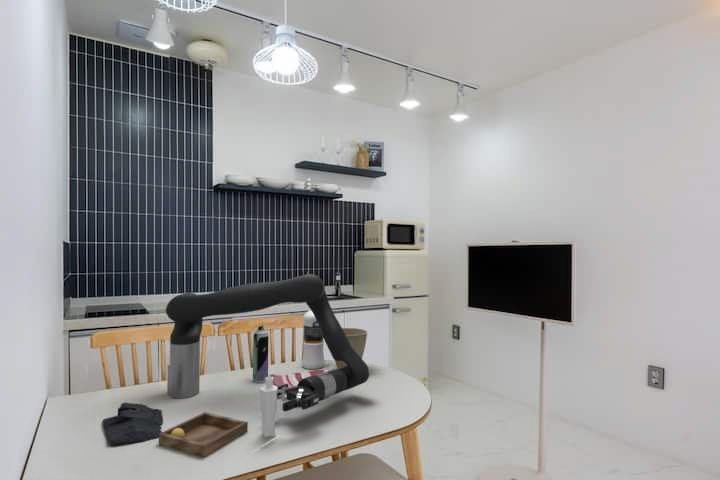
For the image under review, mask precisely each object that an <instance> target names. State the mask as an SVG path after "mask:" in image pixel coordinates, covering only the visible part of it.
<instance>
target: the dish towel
mask: <svg viewBox="0 0 720 480" xmlns="http://www.w3.org/2000/svg"><path fill="white" fill-rule="evenodd" d="M328 371H330V370H329V369H314V370H311V371H310V370H309V371H307V372H306V371H305V372H293V373H290V374H281V375H278V374H277V375H276V374H274V373H272V374H270V375H269V377H273V385H275V386H280V385H284V384H289V387H292V386H297V385H298V383H299V382H300V380H301V379H303V378H306V377H309V376H313V375H316V374H319V373H325V372H328Z"/></svg>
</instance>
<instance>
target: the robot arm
mask: <svg viewBox="0 0 720 480" xmlns="http://www.w3.org/2000/svg"><path fill="white" fill-rule="evenodd" d="M325 287H326V286H325V284H324V282H323V280H322V278H320V277H319V275H316V274H313V273H310V274H309V273H307V274H303V275H300V276H296V277H292V278H289V279H284V280H279V281H263V282H262V281H261V282H255V283H254V282H253V283H247V284H241V285H236V286H232V287H228V288H227V287H226V288H224V289H220V290H217V291H214V292H211V293H210V292H209V293H204V294H196V293H193V292H184V293H181V294H178V295H175V296H174V297H172V298H171V299H170V300H169V301H168V303H167V305H166V307H165V313H166V315H167V317H168V318H169V319H170V320H171V321H173V322H174V327H173V328H172V332H171V333H170V336H169V364H167V384H166V385H167V386H166V389H167V392H166V394H167V395H169V397H171V398H173V399H183V398H190V397H191V398H192V397H193V396H196V395H198V394H199V393H200V378H201V377H200V374H201V372H200V371H201V370H200V367H201V366H200V364H201V361H200V359H201V334H202V331H203V318H206V317H213V316H225V315H228V316H229V315H236V314H245V313H252V312H257V311H261V310H264V309H268V308H271V307H273V306H277V305H281V304H285V303H294V302H305V304H306V305H307V306H308V308H309V310H310V309H311V311H312V312H313V314H314V316H315V318H316V320H317V322H318V325H319V327H320V330H321V333H322V335H323V341H324V343H325V344H326V347H327V349H328V351H329V353H330V354H331V356H332V359H333V360H334V361H344V362H345V363H346V364H347V365H348V366H346V367H343V368H341V369H339V370H338V369H337V368H336V369H332V370H329V371H328V372H325V373H319V374H316V375H313V376H309V377H306V378H303V379H301V380H300V382H299V383H298V385H297V386H292V387H289V384H284V385H280V386H277V387H278V389H277V401H279V400H281V402H283V403H282V411H283V412H285V413H286V412H289V411H291V410H293V409H299V410H300V409H301V410H303V411H306V410H308V409H310V408H312V407H315V406H316V405H319V404H320V403H319V402H322V401H324V400H326V399H328V398H330V397H333V396H335V395H337V394H339V393H342V392H344V391H348V390H351V389H353V388H356V387H357V386H360V385H362V384H365V383H366V382H367V381H368V380H369V378H370V370H369V368H368V365H367V363H366V362H365V361H364V360H363V357H362V358H361V357H360V356H359V355H358V354H357V353H356V352H355V350H354V349H353V348H352V347H351V345H350V343H349V341H348V339H347V337H346V335H345V333H344V331H343V329H342V328H343V327H342V325H341V324H340V322H339V320H338V318H337V317H336V316H335V313H334V311H333V309H332V306H331V304H330V301H329V298H328V295H327V292H326V288H325ZM285 396H286V397H285Z"/></svg>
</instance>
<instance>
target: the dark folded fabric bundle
mask: <svg viewBox="0 0 720 480" xmlns="http://www.w3.org/2000/svg"><path fill="white" fill-rule="evenodd" d="M101 422H102V426H103V430H104V434H105V435H106V438H107V442H108V444H110V445H111V446H114V447H115V446H119V445H127V444H133V443H143V442H147V441H152V440H153V441H154V440H156V439H159V434H160V433H162V432H163V431H162V426H163V425H164V418H163V411H162V410H161V409H159V408H153V407H150V406H149V407H148V405H144V404H143V403H131V402H122V403H121V404H120V407H118V408H117V414H116V415H114V416H110V417H107V418H104V419H102V421H101Z"/></svg>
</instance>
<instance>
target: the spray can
mask: <svg viewBox="0 0 720 480" xmlns="http://www.w3.org/2000/svg"><path fill="white" fill-rule="evenodd" d="M252 337H253V338H252V382H253V383H255V384H261V383H262V384H264V383H266V379H265V378H267V377H269V331H267V330H266V329H265V328H264V325H260V326H258V328H257V329H256V330H255V331H253V334H252Z"/></svg>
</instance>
